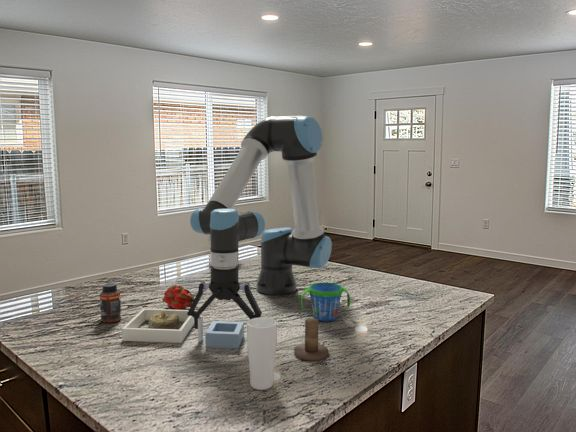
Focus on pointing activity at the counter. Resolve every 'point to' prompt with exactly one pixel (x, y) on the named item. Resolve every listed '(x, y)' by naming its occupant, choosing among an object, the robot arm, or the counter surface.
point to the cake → (164, 321)
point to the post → (311, 343)
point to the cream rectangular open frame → (157, 335)
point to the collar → (224, 334)
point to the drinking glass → (261, 351)
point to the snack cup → (325, 300)
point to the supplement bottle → (110, 303)
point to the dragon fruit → (178, 298)
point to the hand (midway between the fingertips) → (224, 340)
